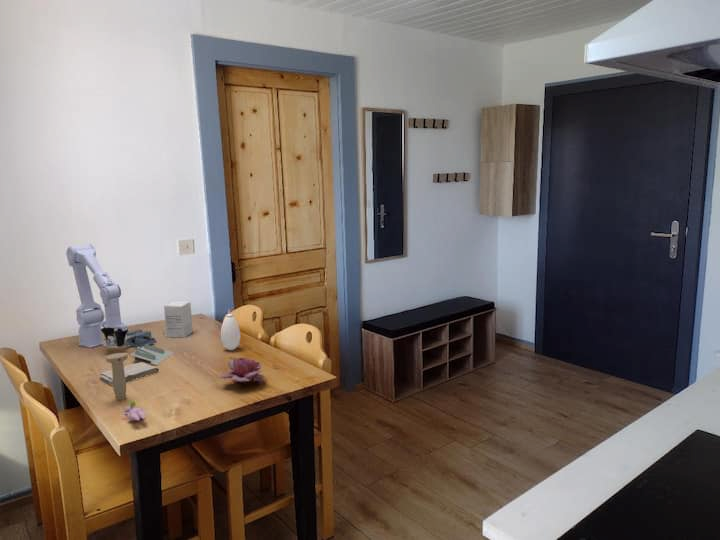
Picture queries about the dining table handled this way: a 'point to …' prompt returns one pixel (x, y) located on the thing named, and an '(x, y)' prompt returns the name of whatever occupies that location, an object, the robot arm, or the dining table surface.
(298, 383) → the dining table surface
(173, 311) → the supplement box
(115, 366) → the handle
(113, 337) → the notched block
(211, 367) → the dining table surface
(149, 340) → the vise
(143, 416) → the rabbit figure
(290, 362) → the dining table surface
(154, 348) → the metal bracket
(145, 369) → the washcloth
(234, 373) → the flower
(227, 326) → the sauce bottle
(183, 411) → the dining table surface
